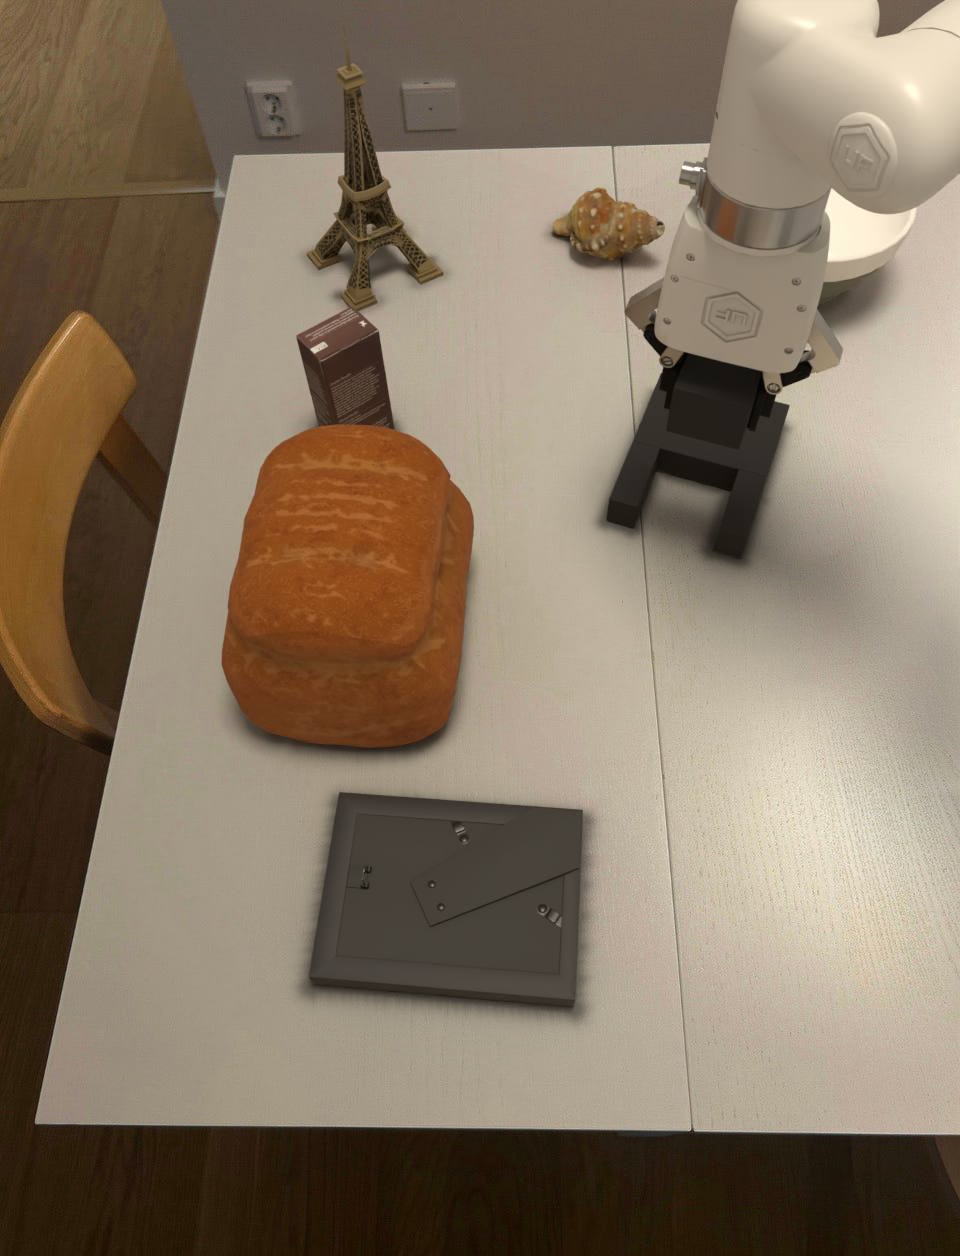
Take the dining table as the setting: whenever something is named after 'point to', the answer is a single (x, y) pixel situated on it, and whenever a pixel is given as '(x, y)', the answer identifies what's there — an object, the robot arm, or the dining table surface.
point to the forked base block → (699, 470)
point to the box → (346, 371)
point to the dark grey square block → (713, 401)
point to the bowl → (859, 243)
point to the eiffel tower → (364, 204)
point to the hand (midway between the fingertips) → (714, 405)
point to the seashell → (607, 226)
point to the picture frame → (451, 899)
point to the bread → (350, 590)
